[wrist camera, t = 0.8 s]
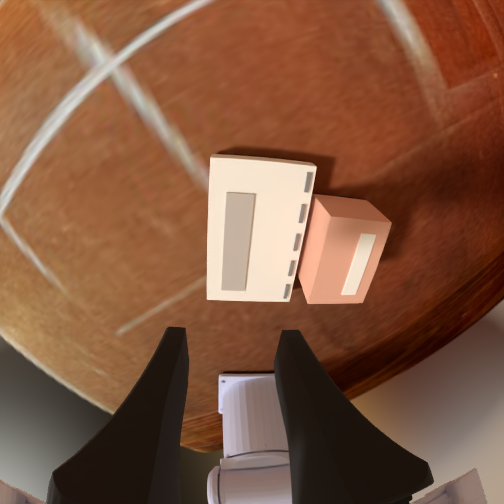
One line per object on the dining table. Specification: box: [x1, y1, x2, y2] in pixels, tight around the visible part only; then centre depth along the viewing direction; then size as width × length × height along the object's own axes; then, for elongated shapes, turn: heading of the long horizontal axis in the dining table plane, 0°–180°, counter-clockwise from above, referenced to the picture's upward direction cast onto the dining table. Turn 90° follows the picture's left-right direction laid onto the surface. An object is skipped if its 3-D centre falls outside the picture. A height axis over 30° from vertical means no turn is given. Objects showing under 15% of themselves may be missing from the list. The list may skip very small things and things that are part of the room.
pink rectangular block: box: [297, 194, 392, 304], centre depth 17 cm, size 6×4×4 cm, turn 175°
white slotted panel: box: [207, 154, 317, 302], centre depth 18 cm, size 10×6×1 cm, turn 175°
